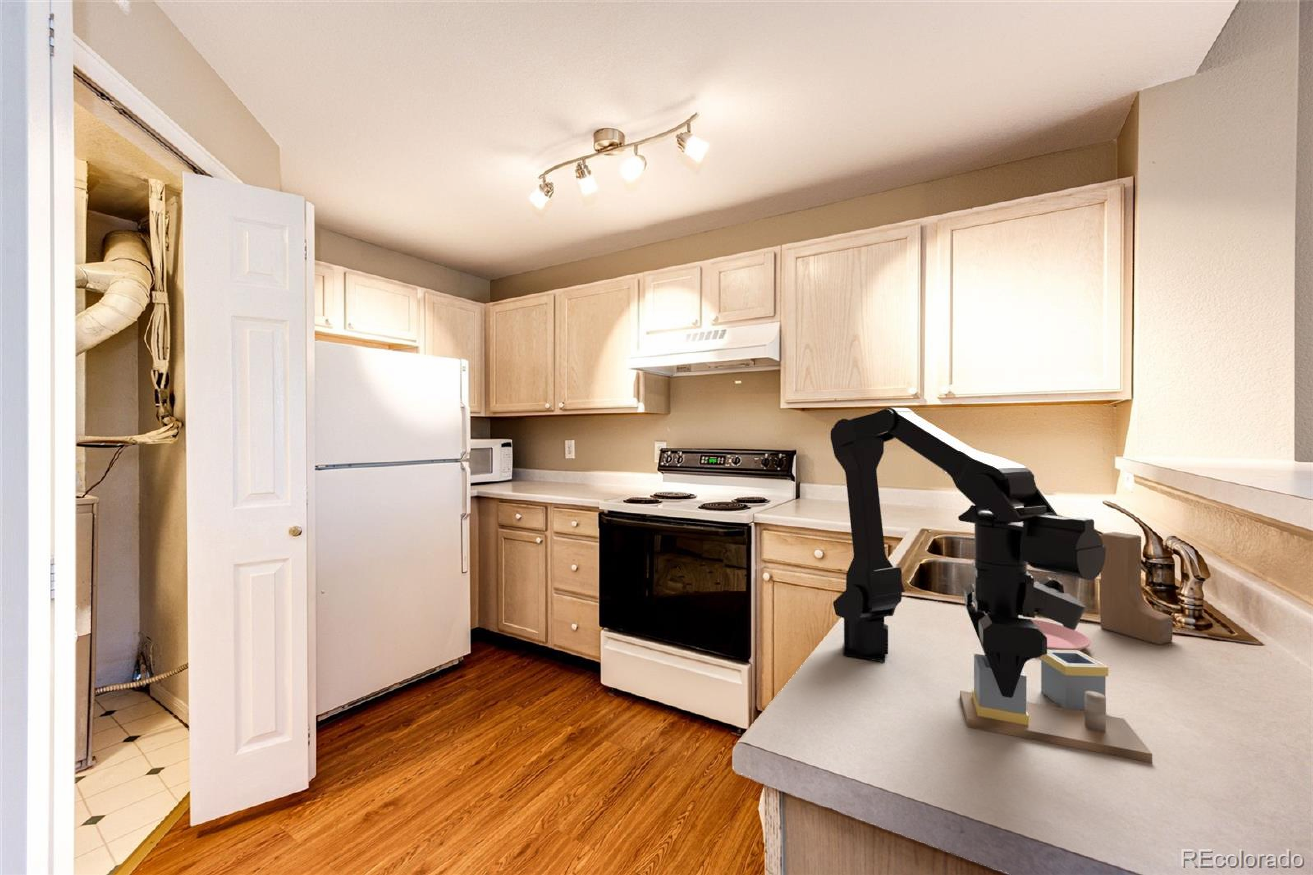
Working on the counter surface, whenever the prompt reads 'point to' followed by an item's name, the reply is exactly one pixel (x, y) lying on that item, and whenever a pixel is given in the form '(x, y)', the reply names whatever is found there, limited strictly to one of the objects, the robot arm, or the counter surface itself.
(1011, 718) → the sleeve band down
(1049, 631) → the plate
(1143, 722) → the counter surface
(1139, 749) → the pin board
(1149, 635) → the wooden block
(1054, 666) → the sleeve band up
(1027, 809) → the counter surface
